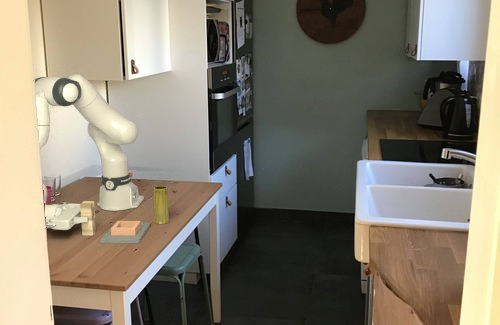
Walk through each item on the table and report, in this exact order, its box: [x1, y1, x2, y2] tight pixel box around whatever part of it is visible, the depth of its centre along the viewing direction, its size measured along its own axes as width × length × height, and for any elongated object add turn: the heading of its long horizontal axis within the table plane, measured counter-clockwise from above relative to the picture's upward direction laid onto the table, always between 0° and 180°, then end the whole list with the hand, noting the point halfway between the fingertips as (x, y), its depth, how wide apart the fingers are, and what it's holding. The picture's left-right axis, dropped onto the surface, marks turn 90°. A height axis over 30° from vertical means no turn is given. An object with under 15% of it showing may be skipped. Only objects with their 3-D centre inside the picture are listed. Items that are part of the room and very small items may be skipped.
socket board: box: [99, 220, 152, 244], centre depth 210 cm, size 20×14×4 cm
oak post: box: [79, 200, 97, 236], centre depth 209 cm, size 4×4×12 cm
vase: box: [153, 185, 171, 225], centre depth 221 cm, size 6×6×14 cm
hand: (90, 216), depth 209 cm, fingers open, 4 cm apart
